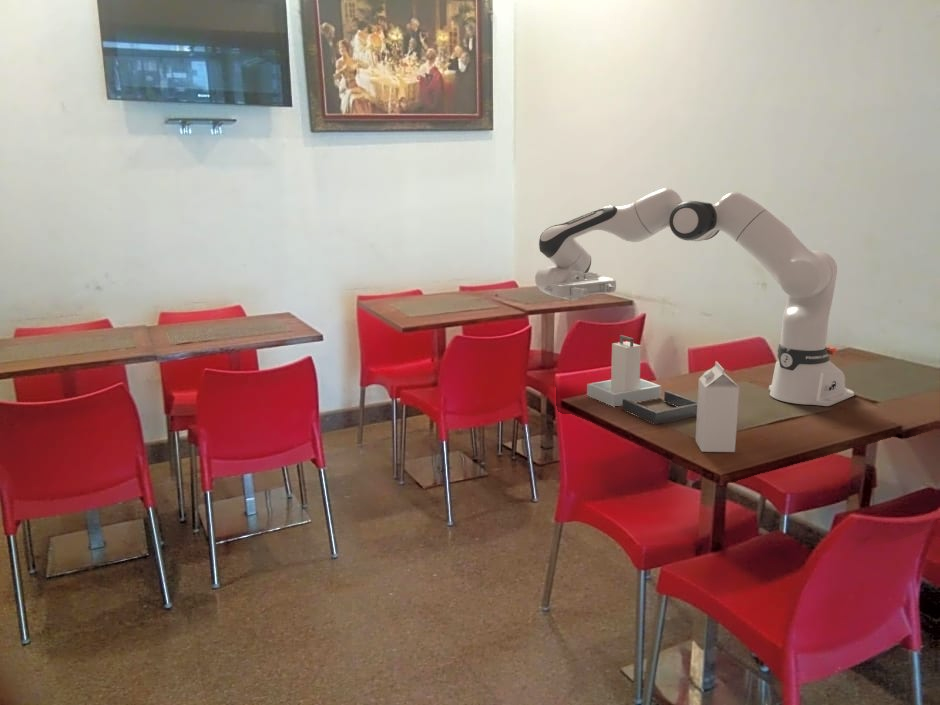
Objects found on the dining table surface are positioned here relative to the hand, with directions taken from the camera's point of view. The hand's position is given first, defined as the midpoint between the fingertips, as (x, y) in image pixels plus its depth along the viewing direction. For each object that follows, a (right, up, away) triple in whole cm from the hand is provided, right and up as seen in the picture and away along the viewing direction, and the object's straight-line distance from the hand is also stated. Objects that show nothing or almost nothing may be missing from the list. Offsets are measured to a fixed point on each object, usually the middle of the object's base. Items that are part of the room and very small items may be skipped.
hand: (599, 291), depth 203 cm
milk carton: (+19, -39, -41) cm, 59 cm away
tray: (+6, -30, -4) cm, 31 cm away
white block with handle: (+6, -29, -5) cm, 30 cm away
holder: (+13, -33, -17) cm, 39 cm away
